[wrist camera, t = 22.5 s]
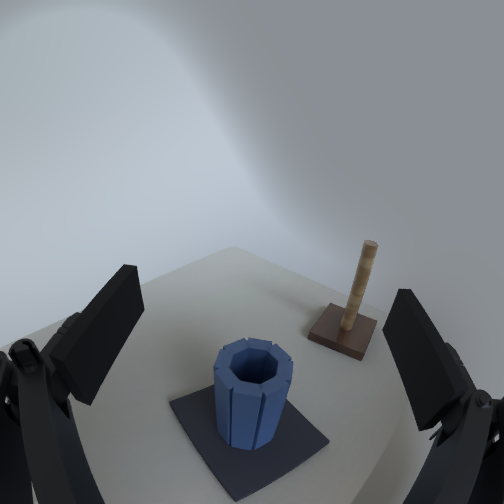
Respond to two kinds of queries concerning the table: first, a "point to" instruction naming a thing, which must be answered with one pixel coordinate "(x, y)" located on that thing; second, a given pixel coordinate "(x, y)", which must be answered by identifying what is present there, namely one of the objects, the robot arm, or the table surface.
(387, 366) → the table surface
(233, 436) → the sleeve
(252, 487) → the mat
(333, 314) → the dowel stand
